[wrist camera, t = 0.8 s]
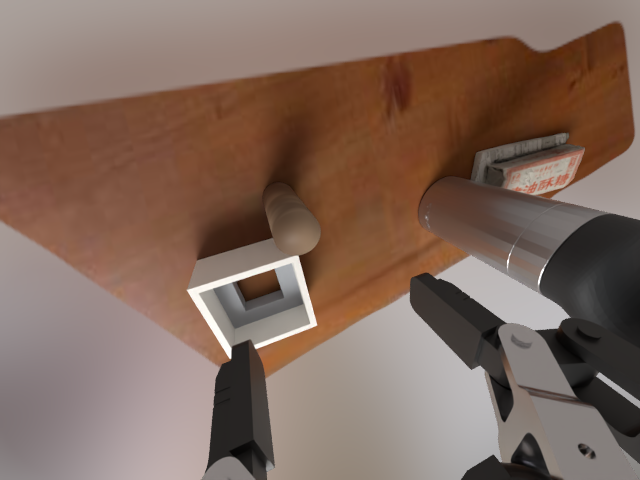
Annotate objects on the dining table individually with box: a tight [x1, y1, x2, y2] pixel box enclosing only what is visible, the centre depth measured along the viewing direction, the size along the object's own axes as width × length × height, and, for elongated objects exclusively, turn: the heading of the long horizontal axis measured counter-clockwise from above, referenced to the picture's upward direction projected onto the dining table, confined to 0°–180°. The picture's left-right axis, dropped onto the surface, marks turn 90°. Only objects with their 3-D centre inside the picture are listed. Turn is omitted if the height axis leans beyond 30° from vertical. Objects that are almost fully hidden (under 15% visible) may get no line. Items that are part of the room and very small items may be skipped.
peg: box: [262, 182, 321, 256], centre depth 23 cm, size 4×4×11 cm
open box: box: [187, 238, 317, 359], centre depth 30 cm, size 12×12×6 cm
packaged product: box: [471, 133, 585, 195], centre depth 36 cm, size 18×5×10 cm
